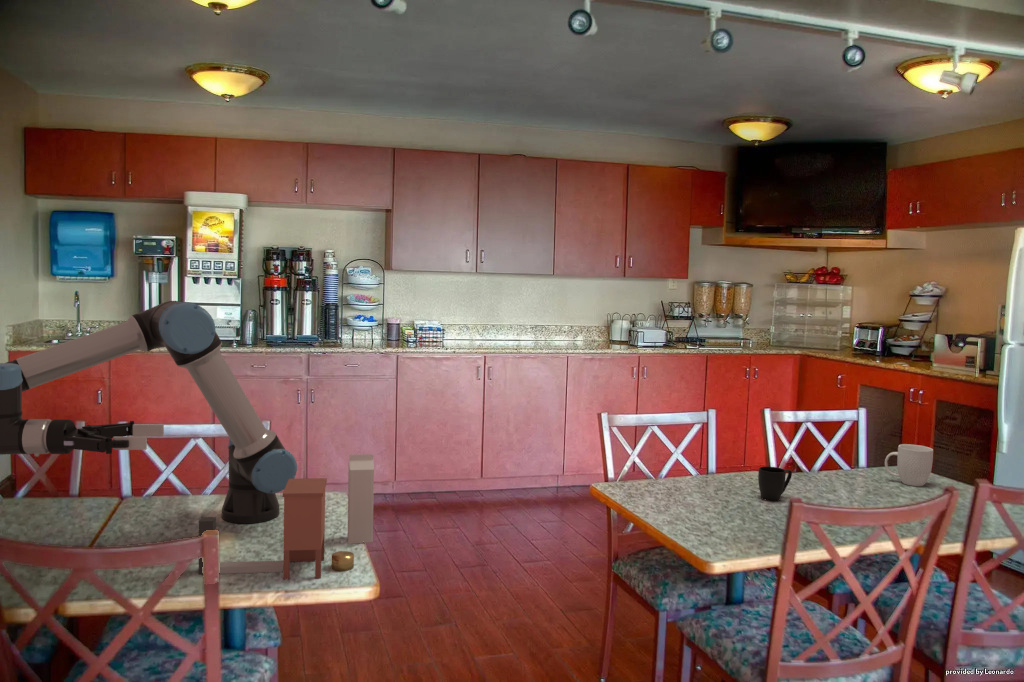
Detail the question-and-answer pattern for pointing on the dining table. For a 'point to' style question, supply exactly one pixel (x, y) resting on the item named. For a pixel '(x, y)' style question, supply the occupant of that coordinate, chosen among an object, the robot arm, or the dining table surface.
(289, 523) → the cabinet
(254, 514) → the robot arm
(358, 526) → the milk
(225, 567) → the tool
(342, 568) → the token
